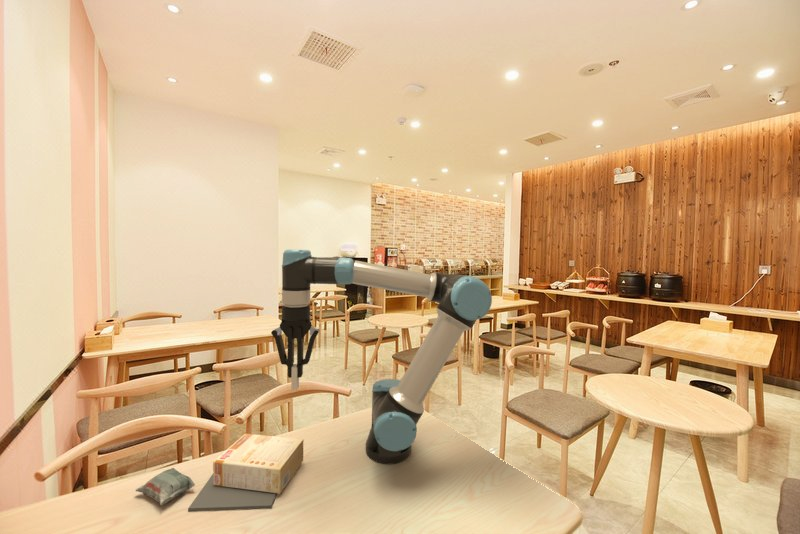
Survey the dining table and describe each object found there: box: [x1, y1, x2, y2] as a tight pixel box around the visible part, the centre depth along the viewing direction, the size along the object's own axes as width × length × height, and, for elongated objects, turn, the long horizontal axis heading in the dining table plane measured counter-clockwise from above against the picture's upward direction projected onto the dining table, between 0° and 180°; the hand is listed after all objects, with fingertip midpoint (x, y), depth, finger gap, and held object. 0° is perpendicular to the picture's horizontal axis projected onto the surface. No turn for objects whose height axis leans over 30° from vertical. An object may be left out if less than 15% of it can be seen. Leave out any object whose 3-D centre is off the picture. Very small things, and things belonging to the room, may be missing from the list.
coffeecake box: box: [212, 433, 304, 494], centre depth 97 cm, size 15×7×20 cm
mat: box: [187, 473, 278, 513], centre depth 93 cm, size 20×19×1 cm
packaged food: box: [135, 467, 196, 506], centre depth 88 cm, size 9×12×5 cm
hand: (295, 388), depth 94 cm, fingers closed
